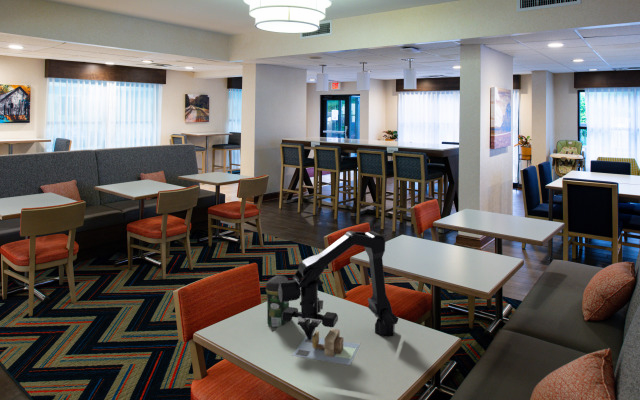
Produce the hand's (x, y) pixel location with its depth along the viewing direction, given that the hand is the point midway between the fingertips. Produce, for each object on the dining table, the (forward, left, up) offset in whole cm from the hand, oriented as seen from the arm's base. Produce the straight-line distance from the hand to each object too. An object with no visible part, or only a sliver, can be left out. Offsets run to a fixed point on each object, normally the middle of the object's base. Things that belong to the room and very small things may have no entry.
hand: (310, 339), depth 157 cm
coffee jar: (+19, -16, -4) cm, 25 cm away
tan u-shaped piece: (-6, 0, -2) cm, 7 cm away
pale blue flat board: (-6, 0, -4) cm, 7 cm away
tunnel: (-8, 0, -3) cm, 8 cm away
